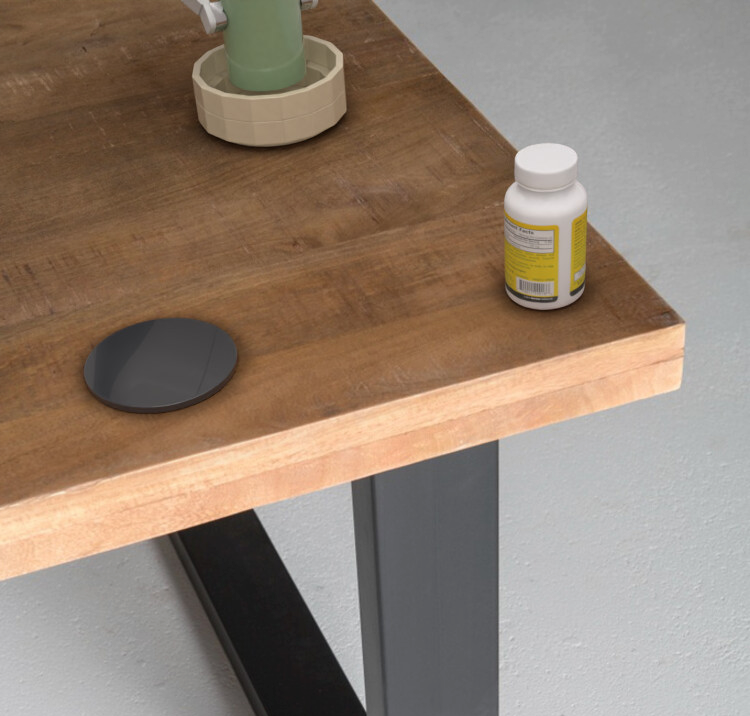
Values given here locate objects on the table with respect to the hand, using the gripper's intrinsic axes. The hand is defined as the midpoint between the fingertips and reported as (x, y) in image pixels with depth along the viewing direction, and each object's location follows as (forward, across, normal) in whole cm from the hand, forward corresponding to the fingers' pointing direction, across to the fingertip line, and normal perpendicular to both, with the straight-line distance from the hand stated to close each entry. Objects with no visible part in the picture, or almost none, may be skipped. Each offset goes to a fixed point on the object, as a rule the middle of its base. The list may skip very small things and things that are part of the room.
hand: (264, 18), depth 111 cm
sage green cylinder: (+3, 0, +4) cm, 5 cm away
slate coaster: (+26, -20, -14) cm, 36 cm away
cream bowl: (+6, 0, +7) cm, 9 cm away
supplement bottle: (+30, +6, -17) cm, 35 cm away
